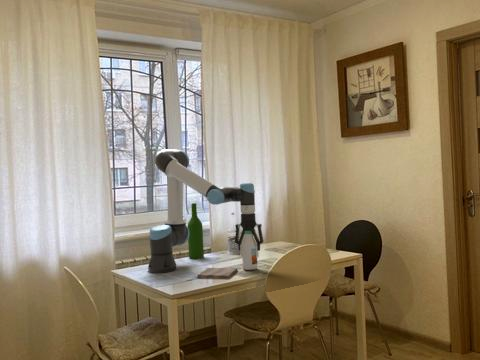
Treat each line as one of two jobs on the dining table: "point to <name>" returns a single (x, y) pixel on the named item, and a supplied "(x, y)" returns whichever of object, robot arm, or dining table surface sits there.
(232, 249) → the french press
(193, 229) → the wine bottle
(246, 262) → the milk bottle
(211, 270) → the walnut board
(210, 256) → the dining table surface
